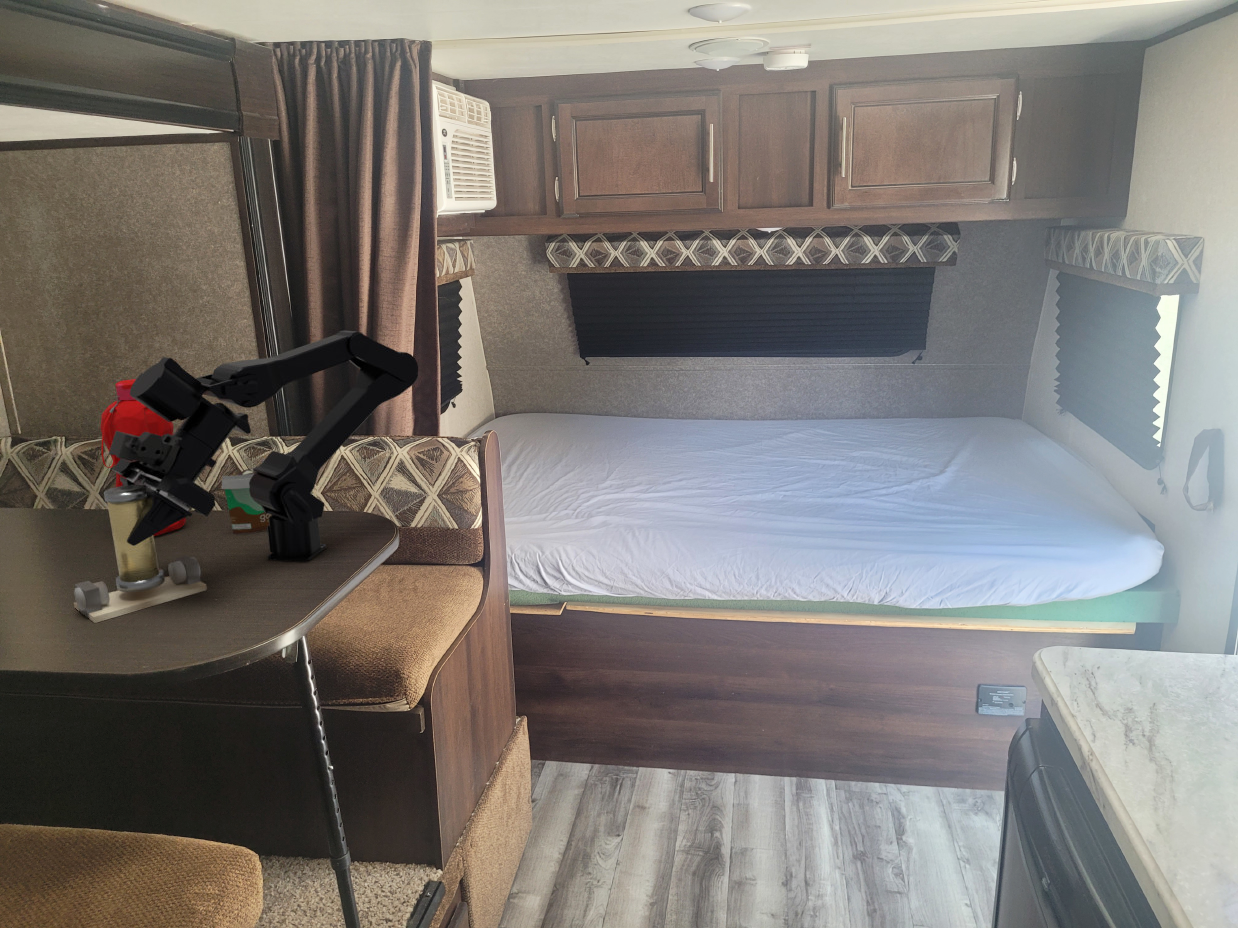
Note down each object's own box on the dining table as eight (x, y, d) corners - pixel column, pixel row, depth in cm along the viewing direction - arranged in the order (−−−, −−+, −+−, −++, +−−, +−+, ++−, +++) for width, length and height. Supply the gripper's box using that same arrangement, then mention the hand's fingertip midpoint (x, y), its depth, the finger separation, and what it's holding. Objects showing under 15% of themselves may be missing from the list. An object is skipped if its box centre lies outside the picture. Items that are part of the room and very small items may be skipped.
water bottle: (98, 537, 142) (72, 384, 136) (160, 518, 151) (139, 374, 145) (134, 545, 138) (110, 388, 131) (195, 526, 147) (175, 378, 141)
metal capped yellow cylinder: (174, 579, 118) (160, 486, 114) (135, 594, 113) (120, 498, 109) (146, 573, 120) (131, 482, 117) (107, 588, 115) (91, 493, 112)
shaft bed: (186, 577, 124) (183, 551, 123) (209, 589, 120) (205, 563, 119) (72, 609, 114) (67, 581, 113) (92, 623, 109) (87, 595, 108)
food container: (262, 538, 141) (255, 478, 138) (227, 536, 142) (220, 476, 139) (302, 515, 152) (296, 459, 150) (270, 513, 153) (263, 458, 151)
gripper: (118, 399, 119) (40, 495, 114) (177, 415, 107) (93, 523, 102) (184, 444, 127) (115, 536, 122) (247, 464, 115) (172, 567, 110)
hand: (122, 539), depth 114 cm, fingers closed on metal capped yellow cylinder, 5 cm apart
